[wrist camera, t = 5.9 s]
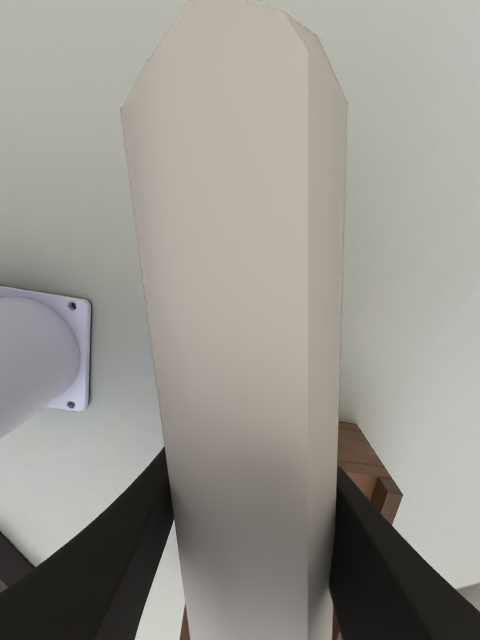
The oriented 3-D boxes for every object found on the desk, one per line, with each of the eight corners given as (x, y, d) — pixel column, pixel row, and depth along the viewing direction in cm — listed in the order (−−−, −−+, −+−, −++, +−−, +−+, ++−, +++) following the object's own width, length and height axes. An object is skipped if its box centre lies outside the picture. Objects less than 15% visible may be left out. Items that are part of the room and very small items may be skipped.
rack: (192, 571, 23) (174, 675, 17) (217, 402, 19) (205, 464, 13) (308, 588, 23) (329, 697, 17) (357, 424, 19) (403, 494, 13)
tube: (25, -25, 4) (180, 823, 10) (388, -247, 3) (332, 939, 8) (189, 120, 9) (232, 635, 15) (356, 77, 8) (335, 682, 13)
